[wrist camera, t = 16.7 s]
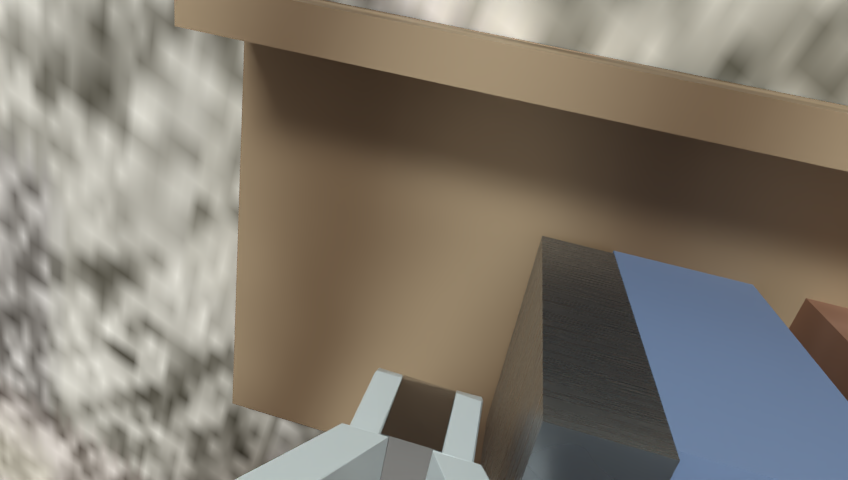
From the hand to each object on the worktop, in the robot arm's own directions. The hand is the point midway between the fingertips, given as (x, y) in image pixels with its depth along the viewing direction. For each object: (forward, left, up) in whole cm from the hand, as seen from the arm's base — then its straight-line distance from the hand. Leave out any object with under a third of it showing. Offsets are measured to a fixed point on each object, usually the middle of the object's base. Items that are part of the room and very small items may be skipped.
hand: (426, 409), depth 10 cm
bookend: (+2, 0, -3) cm, 4 cm away
